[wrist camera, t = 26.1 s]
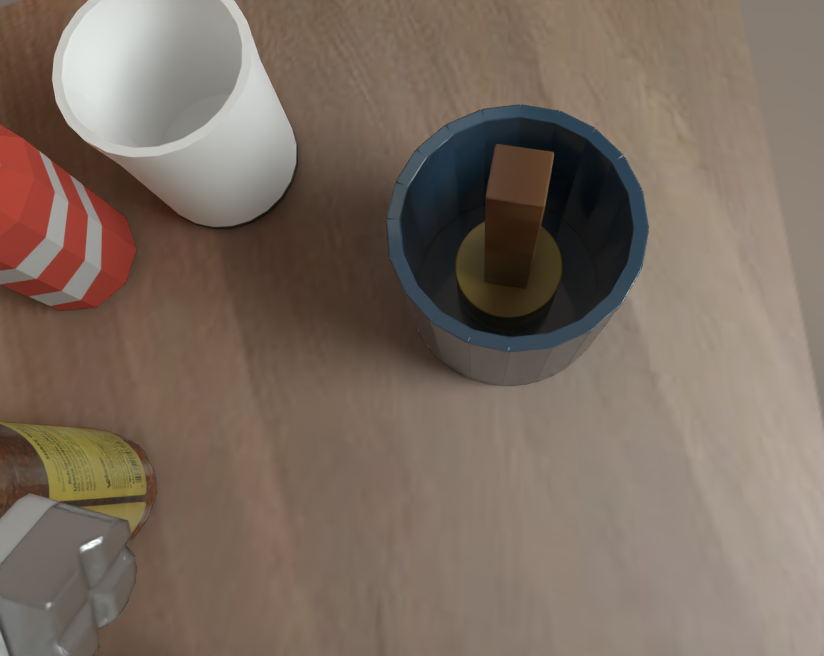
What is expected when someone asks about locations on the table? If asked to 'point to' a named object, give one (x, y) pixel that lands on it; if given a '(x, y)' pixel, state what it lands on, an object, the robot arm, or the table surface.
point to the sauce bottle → (76, 470)
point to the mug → (178, 104)
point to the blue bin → (563, 218)
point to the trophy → (511, 246)
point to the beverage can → (57, 232)
